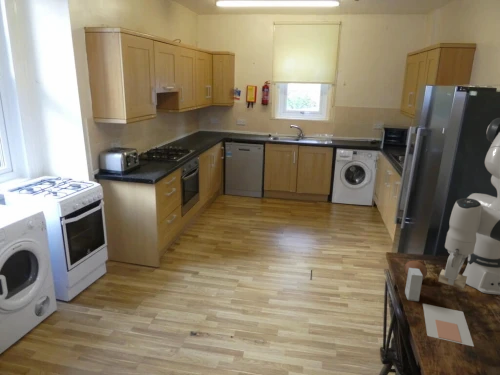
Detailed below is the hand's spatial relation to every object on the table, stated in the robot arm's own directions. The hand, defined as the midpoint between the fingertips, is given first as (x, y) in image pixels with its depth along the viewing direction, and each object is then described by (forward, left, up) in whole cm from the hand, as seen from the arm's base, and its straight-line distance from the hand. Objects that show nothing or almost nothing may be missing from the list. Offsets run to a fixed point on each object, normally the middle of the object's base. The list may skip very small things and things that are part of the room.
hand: (452, 280), depth 127 cm
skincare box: (+11, -10, -17) cm, 22 cm away
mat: (0, +3, -16) cm, 17 cm away
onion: (+9, -27, -17) cm, 33 cm away
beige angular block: (0, 0, -1) cm, 1 cm away
